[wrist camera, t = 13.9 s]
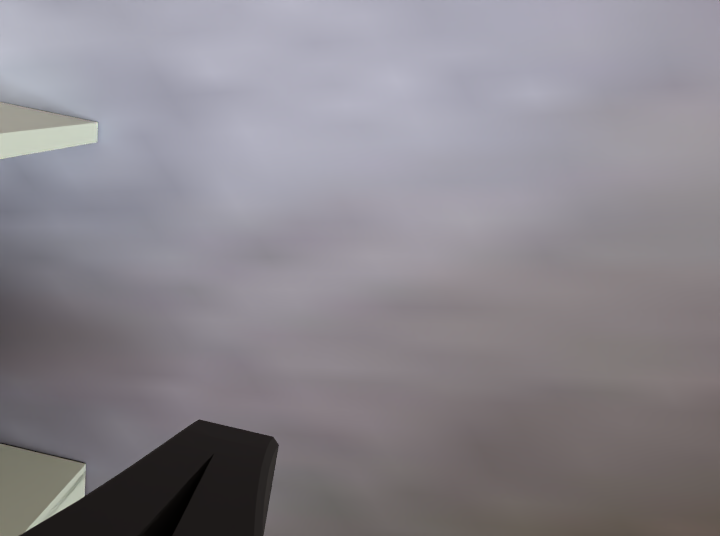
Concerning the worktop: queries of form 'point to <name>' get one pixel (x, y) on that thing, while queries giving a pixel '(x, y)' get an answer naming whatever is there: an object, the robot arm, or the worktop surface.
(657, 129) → the worktop surface
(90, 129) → the caddy
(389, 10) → the worktop surface
